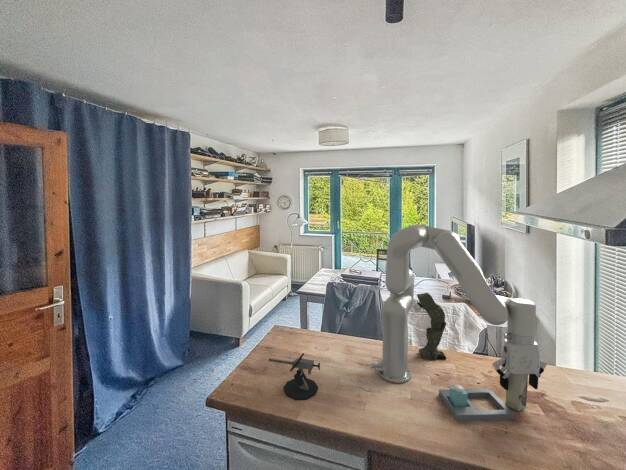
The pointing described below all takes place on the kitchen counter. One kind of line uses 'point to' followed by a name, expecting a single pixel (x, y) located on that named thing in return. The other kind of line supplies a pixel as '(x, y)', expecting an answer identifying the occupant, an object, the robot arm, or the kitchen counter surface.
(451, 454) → the kitchen counter surface
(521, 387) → the box
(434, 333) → the mechanical leg
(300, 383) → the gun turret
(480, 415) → the frame
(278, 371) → the kitchen counter surface
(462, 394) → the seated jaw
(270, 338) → the kitchen counter surface
